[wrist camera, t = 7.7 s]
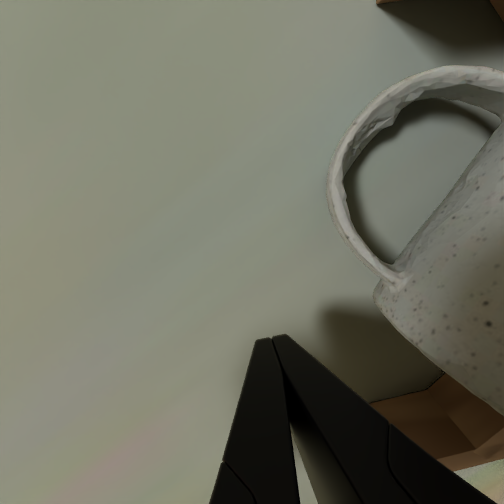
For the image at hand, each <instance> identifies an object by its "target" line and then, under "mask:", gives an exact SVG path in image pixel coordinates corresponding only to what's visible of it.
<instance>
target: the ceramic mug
mask: <svg viewBox="0 0 504 504" xmlns="http://www.w3.org/2000/svg"><path fill="white" fill-rule="evenodd" d="M432 97H438V98H445V99H447V100H460V101H463V102H466V103H468V104H472V105H475V106H479V107H482V108H484V109H486V110H488V111H490V112H492V113H494V114H496V115H497V116H499V117H500V118H501V122H502V123H501V124H500V126H499V127H498V128H497V129H496V130H495V132H494V133H493V134H492V136H491V137H490V138H489V140H488V141H487V142H486V143H485V145H484V146H483V147H482V149H481V150H480V151H479V153H478V154H477V155H476V156H475V158H474V159H473V160H472V161H471V163H470V164H469V165H468V167H467V168H466V170H465V171H464V173H463V174H462V175H461V177H460V178H459V180H458V181H457V183H456V184H455V185H454V187H453V188H452V189H451V191H450V192H449V194H448V195H447V196H446V198H445V199H444V200H443V202H442V203H441V204H440V205H439V206H438V208H437V209H436V210H435V211H434V212H433V213H432V215H431V216H430V217H429V218H428V220H427V221H426V222H425V223H424V224H423V226H422V227H421V228H420V229H419V230H418V232H417V233H416V235H415V236H414V237H413V238H412V240H411V241H410V242H409V243H408V245H407V246H406V247H405V249H404V250H403V251H402V253H401V254H400V255H399V257H398V258H397V259H396V261H395V262H394V264H392V265H390V264H387V263H385V262H383V261H381V260H380V259H379V258H378V257H377V256H375V255H374V254H373V253H372V251H371V250H370V249H369V248H368V246H367V245H366V244H365V242H364V241H363V240H362V238H361V237H360V236H359V234H358V233H357V232H356V230H355V228H354V226H353V224H352V222H351V219H350V214H349V210H348V207H347V203H346V197H347V196H346V193H345V190H344V185H343V179H344V176H345V174H346V173H347V171H348V170H349V168H350V167H351V165H352V164H353V162H354V161H355V159H356V158H357V157H358V156H359V154H360V153H361V152H362V150H363V149H364V148H365V147H366V145H367V144H368V143H369V142H370V141H371V140H372V139H373V137H374V136H375V135H376V134H377V133H378V132H379V131H380V130H381V129H384V128H386V127H389V126H391V125H393V123H394V121H395V120H396V118H397V116H398V114H399V112H400V111H401V109H402V108H404V107H406V106H407V105H408V104H410V103H411V102H413V101H417V100H423V99H427V98H432ZM326 197H327V202H328V208H329V211H330V214H331V217H332V220H333V222H334V224H335V226H336V228H337V230H338V232H339V233H340V235H341V237H342V238H343V240H344V241H345V243H346V244H347V245H348V247H349V248H350V249H351V250H352V251H353V253H354V254H355V255H356V256H357V258H359V259H360V260H361V261H362V262H363V263H364V264H365V265H366V266H367V267H368V268H369V269H370V270H371V271H373V272H374V273H375V274H376V275H378V276H379V277H380V278H381V280H380V282H379V283H378V285H377V286H376V288H375V289H374V292H373V298H374V302H375V303H376V305H377V306H378V307H379V309H380V311H381V312H382V313H383V314H384V316H385V317H386V318H387V319H388V320H389V321H390V322H391V324H392V325H393V326H394V327H395V328H396V329H397V330H398V331H399V332H400V333H401V334H402V335H403V336H404V337H405V338H406V339H407V340H408V341H409V342H410V343H412V344H413V345H414V346H415V347H416V348H418V349H419V350H420V351H421V352H422V353H423V354H424V355H425V356H426V357H427V358H428V359H429V360H431V361H432V362H433V363H434V364H436V365H437V366H438V367H439V368H441V369H442V370H443V371H444V372H446V373H447V374H448V375H450V376H451V377H452V378H454V379H455V380H456V381H458V382H459V383H460V384H461V385H463V386H464V387H465V388H466V389H468V390H469V391H470V392H471V393H473V394H474V395H476V396H477V397H479V398H480V399H482V400H483V401H485V402H486V403H488V404H489V405H490V406H491V407H492V408H493V409H495V410H496V411H497V412H499V413H500V414H501V415H503V416H504V72H502V71H498V70H495V69H492V68H489V67H486V66H462V65H451V66H441V67H438V68H435V69H431V70H428V71H425V72H422V73H419V74H416V75H413V76H410V77H407V78H406V79H404V80H402V81H400V82H398V83H396V84H394V85H393V86H391V87H389V88H388V89H386V90H384V91H383V92H381V93H380V94H379V95H377V96H376V97H375V98H374V99H373V100H372V101H371V102H370V103H369V104H368V105H367V106H366V107H365V109H364V110H363V111H362V112H361V113H360V114H359V115H358V116H357V117H356V118H355V119H354V120H353V122H352V123H351V125H350V126H349V128H348V129H347V131H346V132H345V134H344V135H343V137H342V138H341V140H340V141H339V143H338V146H337V148H336V150H335V152H334V154H333V156H332V158H331V161H330V165H329V170H328V176H327V183H326Z"/></svg>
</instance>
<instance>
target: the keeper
mask: <svg viewBox="0 0 504 504" xmlns="http://www.w3.org/2000/svg"><path fill="white" fill-rule="evenodd" d="M394 1H402V0H376V4H380V3H387V2H394ZM489 1H490V2H491V4H492V5H493V7H494V8H495V10H496V11H497V13H498V14H499V16H500V17H501V19H502V20H503V22H504V0H489ZM370 405H371V406H372V407H373V408H374V409H376V410H377V411H378V412H379V413H380V414H382V415H383V416H384V417H385V418H386V419H387V420H388V421H389V424H390V423H392V424H394V425H395V426H396V427H397V428H398V429H399V430H401V431H402V432H403V433H404V434H405V435H406V436H408V437H409V438H410V439H411V440H413V441H414V442H415V443H416V444H418V445H419V446H420V447H421V448H423V449H424V450H425V451H426V452H427V453H429V454H430V455H431V456H432V457H434V458H435V459H436V460H438V461H439V462H440V463H442V464H443V465H444V466H446V467H447V468H448V469H450V470H451V471H453V472H454V471H457V470H461V469H465V468H469V467H473V466H477V465H480V464H484V463H488V462H492V461H496V460H500V459H504V416H503V415H501V414H500V413H499V412H497V411H496V410H495V409H493V408H492V407H491V406H490V405H489V404H488V403H486V402H485V401H483V400H482V399H480V398H479V397H477V396H476V395H474V394H473V393H471V392H470V391H469V390H468V389H466V388H465V387H464V386H463V385H461V384H460V383H459V382H458V381H456V380H455V379H454V378H452V377H451V376H450V375H448V374H447V373H445V374H444V375H443V376H442V377H441V378H440V379H438V380H437V381H436V382H435V383H434V384H433V385H432V386H431V387H430V388H428V389H427V390H424V391H420V392H416V393H412V394H408V395H403V396H399V397H395V398H391V399H386V400H382V401H378V402H374V403H370Z"/></svg>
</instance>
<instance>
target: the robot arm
mask: <svg viewBox="0 0 504 504" xmlns="http://www.w3.org/2000/svg"><path fill="white" fill-rule="evenodd" d="M290 428H291V429H290ZM291 430H292V433H293V436H294V439H295V442H296V444H297V447H298V450H299V453H300V455H301V458H302V461H303V464H304V466H305V469H306V472H307V474H308V477H309V480H310V483H311V485H312V488H313V491H314V494H315V496H316V499H317V502H318V504H497V503H495V502H494V501H493V500H491V499H490V498H488V497H487V496H486V495H484V494H483V493H481V492H480V491H479V490H477V489H476V488H474V487H473V486H472V485H470V484H469V483H467V482H466V481H465V480H463V479H462V478H461V477H459V476H458V475H457V474H455V473H454V472H453V471H451V470H450V469H448V468H447V467H446V466H444V465H443V464H442V463H440V462H439V461H438V460H436V459H435V458H434V457H432V456H431V455H430V454H429V453H427V452H426V451H425V450H424V449H423V448H421V447H420V446H419V445H418V444H416V443H415V442H414V441H413V440H411V439H410V438H409V437H408V436H406V435H405V434H404V433H403V432H402V431H401V430H399V429H398V428H397V427H396V426H395V425H394V424H392V423H390V424H389V421H388V420H387V419H386V418H385V417H384V416H383V415H382V414H380V413H379V412H378V411H377V410H376V409H374V408H373V407H372V406H371V405H370V404H369V403H367V402H366V401H365V400H364V399H363V398H361V397H360V396H359V395H358V394H357V393H356V392H354V391H353V390H352V389H351V388H350V387H348V386H347V385H346V384H345V383H344V382H343V381H341V380H340V379H339V378H338V377H337V376H335V375H334V374H333V373H332V372H331V371H329V370H328V369H327V368H326V367H325V366H324V365H322V364H321V363H320V362H319V361H318V360H316V359H315V358H314V357H313V356H312V355H311V354H309V353H308V352H307V351H306V350H305V349H303V348H302V347H301V346H300V345H299V344H298V343H296V342H295V341H294V340H293V339H292V338H290V337H289V336H288V335H286V334H282V335H277V336H273V337H272V339H271V338H269V337H267V338H262V339H258V340H256V341H255V344H254V348H253V351H252V355H251V359H250V362H249V366H248V369H247V373H246V376H245V380H244V383H243V387H242V391H241V394H240V398H239V401H238V405H237V408H236V412H235V416H234V419H233V423H232V426H231V430H230V433H229V437H228V441H227V444H226V448H225V451H224V455H223V458H222V461H223V462H222V463H221V465H220V468H219V472H218V475H217V479H216V483H215V486H214V489H213V492H212V495H211V499H210V502H209V504H300V497H299V490H298V482H297V475H296V467H295V460H294V452H293V445H292V437H291Z"/></svg>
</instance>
